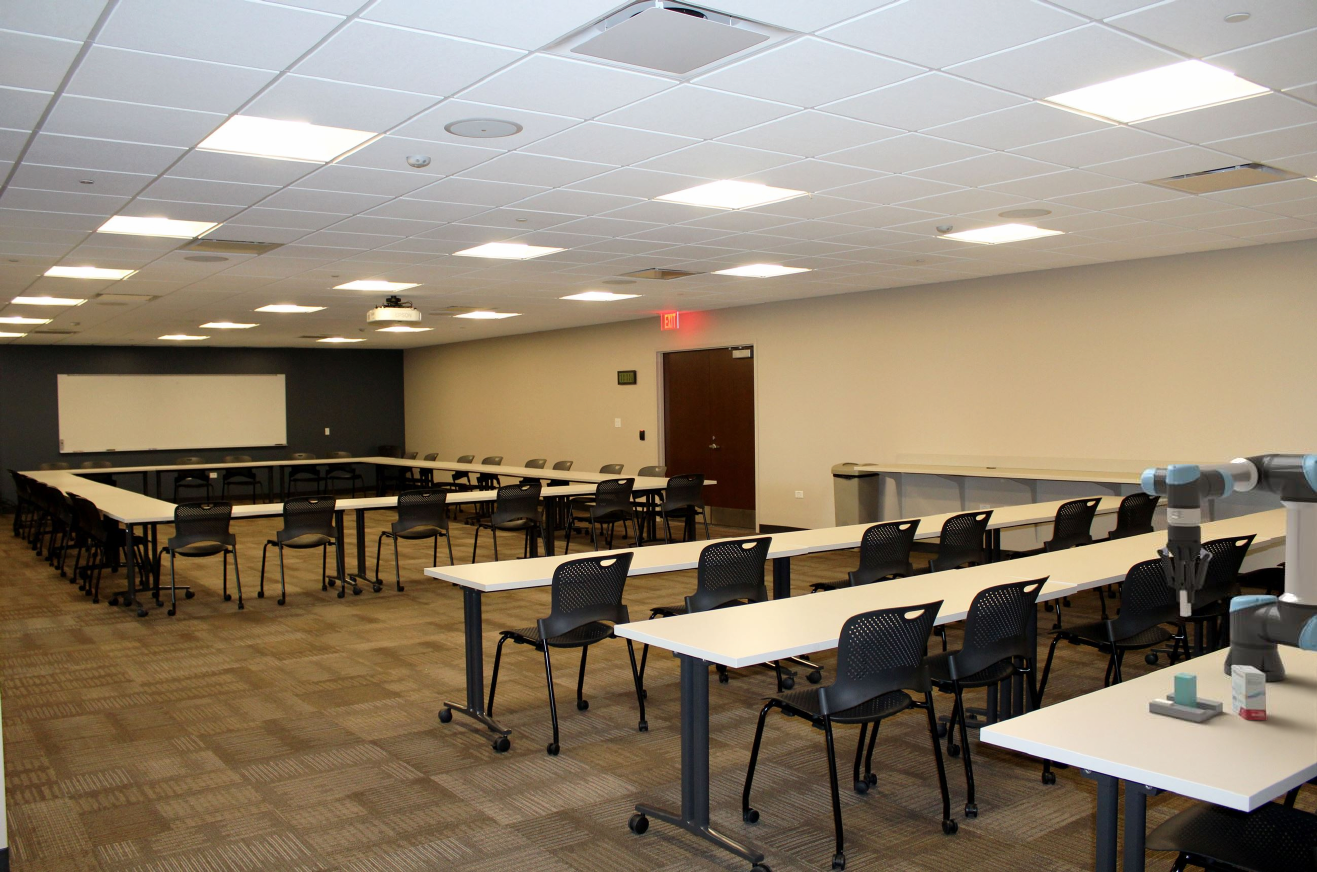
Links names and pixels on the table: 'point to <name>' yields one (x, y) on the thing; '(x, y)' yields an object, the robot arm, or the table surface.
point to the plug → (1185, 690)
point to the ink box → (1248, 692)
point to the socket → (1186, 709)
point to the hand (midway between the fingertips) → (1185, 615)
